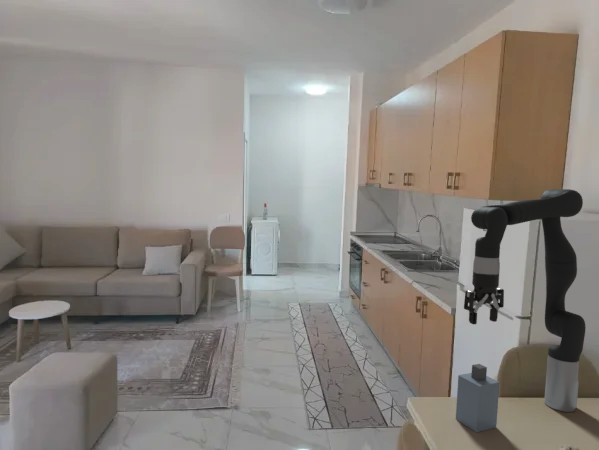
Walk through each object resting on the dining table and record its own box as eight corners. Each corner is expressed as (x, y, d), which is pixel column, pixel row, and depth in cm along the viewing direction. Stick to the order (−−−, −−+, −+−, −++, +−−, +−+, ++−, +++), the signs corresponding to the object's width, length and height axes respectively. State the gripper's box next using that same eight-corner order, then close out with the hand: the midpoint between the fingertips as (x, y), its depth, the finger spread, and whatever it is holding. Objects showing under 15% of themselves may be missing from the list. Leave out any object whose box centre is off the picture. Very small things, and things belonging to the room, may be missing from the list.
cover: (475, 414, 139) (478, 359, 138) (496, 427, 131) (500, 369, 130) (455, 418, 136) (459, 362, 134) (476, 432, 128) (480, 373, 127)
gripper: (492, 268, 138) (489, 317, 139) (459, 270, 132) (456, 321, 133) (512, 272, 131) (509, 323, 132) (478, 274, 125) (475, 328, 126)
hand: (483, 322), depth 132 cm, fingers open, 8 cm apart
